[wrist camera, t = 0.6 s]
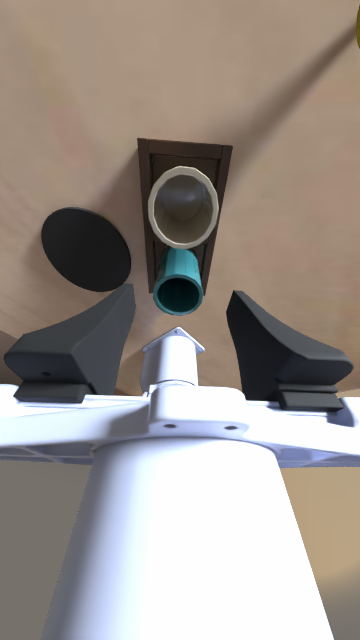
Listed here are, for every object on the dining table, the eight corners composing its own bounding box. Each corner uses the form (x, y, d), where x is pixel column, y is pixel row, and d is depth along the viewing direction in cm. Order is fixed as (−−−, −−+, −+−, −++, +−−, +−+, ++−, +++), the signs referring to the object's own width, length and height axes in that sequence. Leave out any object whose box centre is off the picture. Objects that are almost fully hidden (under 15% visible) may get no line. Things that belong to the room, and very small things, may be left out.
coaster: (102, 301, 26) (101, 303, 25) (29, 249, 21) (26, 251, 20) (147, 260, 21) (147, 262, 21) (70, 181, 16) (67, 182, 16)
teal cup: (176, 282, 23) (175, 322, 18) (153, 258, 21) (142, 294, 15) (204, 262, 21) (212, 299, 16) (181, 233, 19) (181, 263, 13)
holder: (151, 284, 24) (149, 293, 22) (142, 140, 14) (137, 137, 13) (203, 287, 24) (205, 296, 22) (227, 147, 15) (233, 145, 13)
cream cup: (179, 231, 19) (178, 261, 13) (150, 193, 17) (133, 208, 11) (213, 200, 17) (231, 218, 11) (186, 152, 15) (189, 143, 9)
